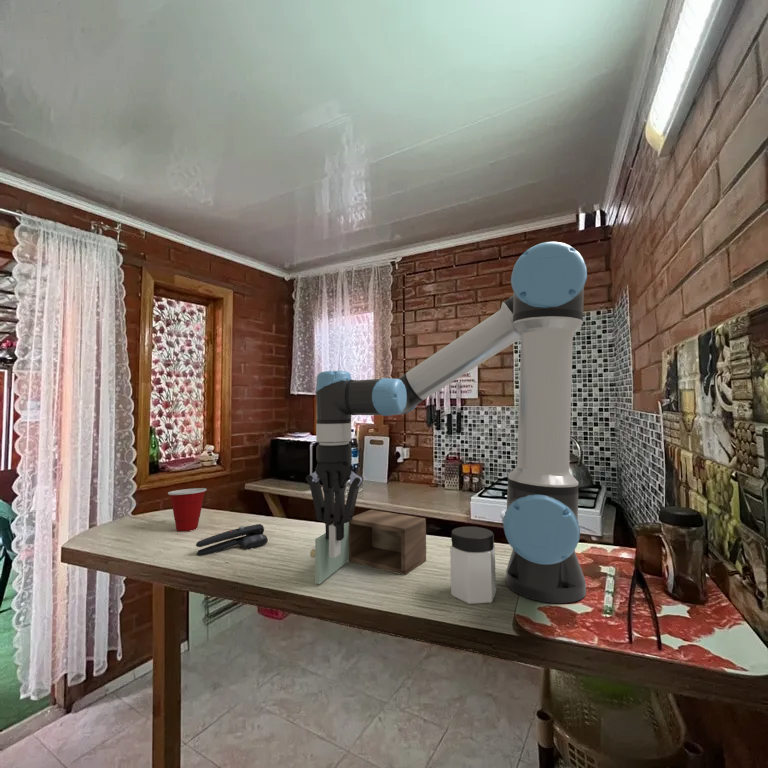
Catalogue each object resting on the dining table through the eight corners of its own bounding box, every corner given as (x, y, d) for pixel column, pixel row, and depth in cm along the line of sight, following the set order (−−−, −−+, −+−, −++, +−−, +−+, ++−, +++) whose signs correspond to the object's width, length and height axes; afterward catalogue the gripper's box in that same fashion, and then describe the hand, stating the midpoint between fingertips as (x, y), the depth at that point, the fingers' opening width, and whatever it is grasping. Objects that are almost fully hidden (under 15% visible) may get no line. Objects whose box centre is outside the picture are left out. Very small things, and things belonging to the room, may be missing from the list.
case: (426, 560, 99) (425, 518, 100) (405, 575, 91) (404, 528, 91) (371, 548, 108) (370, 509, 109) (347, 560, 100) (347, 518, 100)
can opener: (261, 540, 117) (261, 519, 117) (269, 547, 111) (269, 525, 111) (193, 552, 107) (193, 530, 107) (197, 560, 101) (198, 537, 101)
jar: (458, 582, 87) (457, 523, 88) (498, 588, 84) (497, 528, 84) (446, 600, 79) (445, 536, 80) (490, 608, 76) (489, 541, 76)
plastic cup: (200, 522, 134) (200, 484, 135) (210, 529, 126) (211, 489, 127) (163, 528, 128) (163, 489, 128) (171, 536, 119) (172, 494, 120)
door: (339, 559, 99) (339, 520, 100) (348, 560, 98) (348, 521, 99) (308, 582, 86) (308, 538, 87) (319, 584, 85) (319, 539, 86)
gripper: (368, 442, 91) (369, 552, 89) (316, 441, 95) (316, 546, 94) (354, 445, 84) (355, 565, 82) (298, 444, 88) (299, 557, 87)
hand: (334, 555), depth 88 cm, fingers closed
